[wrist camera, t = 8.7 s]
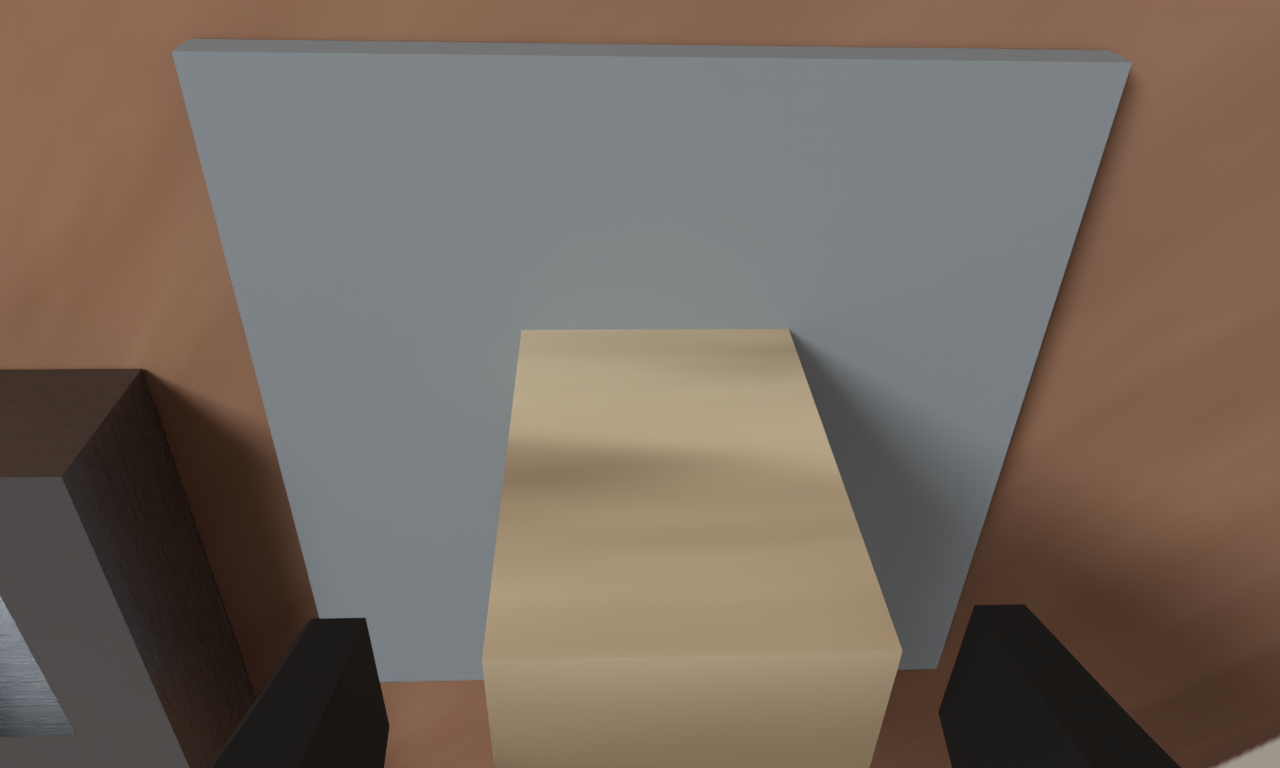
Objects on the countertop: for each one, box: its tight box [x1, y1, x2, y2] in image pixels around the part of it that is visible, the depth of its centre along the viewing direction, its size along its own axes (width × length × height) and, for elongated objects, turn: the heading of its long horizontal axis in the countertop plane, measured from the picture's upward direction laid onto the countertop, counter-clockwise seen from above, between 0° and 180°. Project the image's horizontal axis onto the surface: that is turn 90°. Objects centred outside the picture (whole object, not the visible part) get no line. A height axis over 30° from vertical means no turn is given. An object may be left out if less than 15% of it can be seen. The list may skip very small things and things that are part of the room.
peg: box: [482, 329, 903, 768], centre depth 12 cm, size 4×4×6 cm
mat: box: [172, 39, 1132, 682], centre depth 15 cm, size 12×12×1 cm
